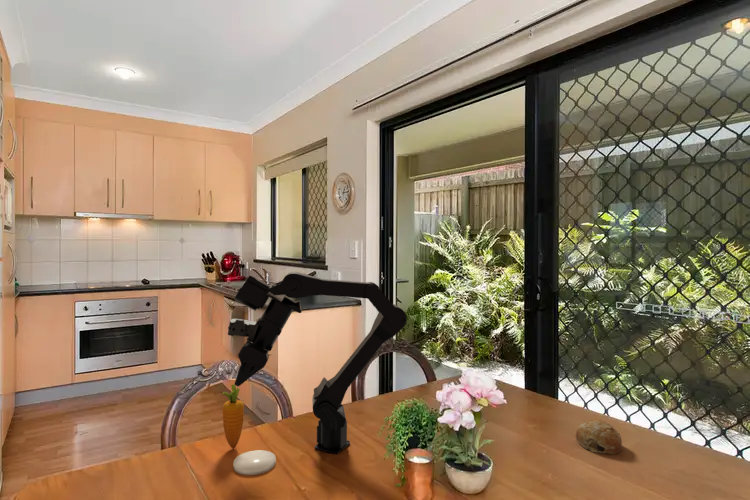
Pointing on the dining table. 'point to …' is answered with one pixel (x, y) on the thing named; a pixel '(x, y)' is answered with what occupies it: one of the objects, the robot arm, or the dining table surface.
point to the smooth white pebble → (254, 462)
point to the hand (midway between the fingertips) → (239, 379)
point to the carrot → (233, 417)
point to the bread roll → (599, 437)
